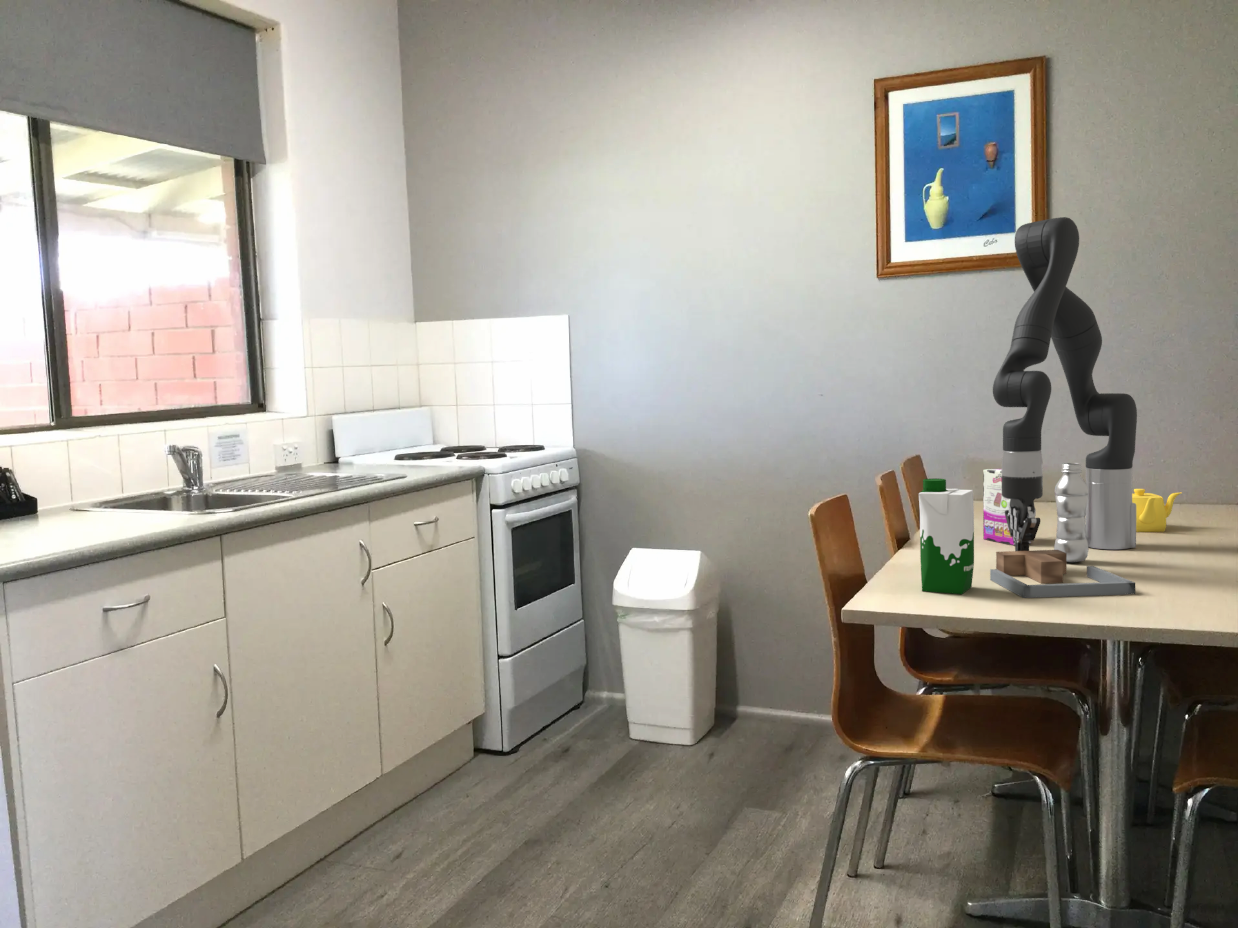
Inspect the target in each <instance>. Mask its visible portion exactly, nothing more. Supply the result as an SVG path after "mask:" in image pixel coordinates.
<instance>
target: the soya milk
mask: <svg viewBox="0 0 1238 928" xmlns="http://www.w3.org/2000/svg"><path fill="white" fill-rule="evenodd" d="M918 501H919V502H918V503H919V538H920V539H919V543H920V544H919V545H920V546H919V547H920V551H919V552H920V555H919V556H920V558H919V559H920V576H921V579H920V580H921V591H922V592H928V593H930V592H931V593H940V594H942V593H943V594H954V595H963V594H964V593H965V592H967V591H968V590H969V589H971V588H972V586H973V578H974V577H973V576H974V567H975V517H974V516H975V515H974V514H975V513H974V511H975V510H974V509H975V508H974V506H975V505H974V489H960V488H947V480H946V478H925V479H923V480H922V490H921V491H920V492H919V493H918Z"/></svg>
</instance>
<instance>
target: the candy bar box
mask: <svg viewBox="0 0 1238 928" xmlns="http://www.w3.org/2000/svg"><path fill="white" fill-rule="evenodd" d="M982 472H983V473H982V474H983V476H982V479H983V481H982V482H983V483H982V484H983V485H982V486H983V488H982V489H983V495H982V496H983V500H982V503H983V512H982V513H983V515H982V516H983V517H982V518H983V523H982V524H983V528H982V529H983V530H982V531H983V533H982V534H983V540H987V541H991V542H996V543H1000V544H1006V545H1011V546H1015V542H1016V541H1014V540H1013V537H1011V536H1010V532H1009V528H1008V524H1007V520H1006V517H1005V510H1009V507H1010V499H1007V498H1004V497H1003V496H1002V468H991V469H990V468H987V469H983V470H982ZM1031 544H1032V541H1031V542H1029V545H1031Z"/></svg>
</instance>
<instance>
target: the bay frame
mask: <svg viewBox="0 0 1238 928" xmlns="http://www.w3.org/2000/svg"><path fill="white" fill-rule="evenodd" d="M989 572H990V573H989V574H990V575H989V580H990V581H991V582H994V583H995V584H997V585H999V586H1001V587H1003V589H1006V590H1008V591H1009V592H1012V593H1014V594H1016V595H1018V596H1019V597H1021V598H1022V599H1027V598H1029V599H1030V598H1031V599H1032V598H1058V597H1059V598H1061V597H1085V596H1086V597H1088V596H1090V597H1091V596H1115V595H1116V596H1120V595H1121V596H1122V595H1136V582H1135V581H1132V580H1131V579H1126V578H1125V577H1122V576H1119V575H1117V574H1115V573H1112V572H1110V571H1107V570H1105V569H1102V568H1100V567H1097V566H1095V565H1087V566H1086V577H1087V578H1089V579H1092V580H1094V581H1096V582H1071V583H1039V584H1027V583H1025V582H1023V581H1020V580H1019V579H1017V578H1015V577H1014V576H1009V575H1007V574H1005V573H1003V572H1001V571H999V570H997V569H996V568H993V569H991V568H990V570H989Z"/></svg>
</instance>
